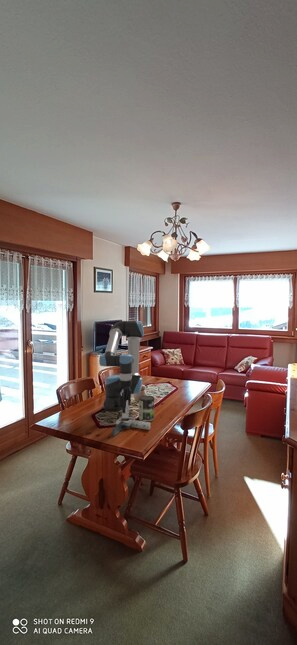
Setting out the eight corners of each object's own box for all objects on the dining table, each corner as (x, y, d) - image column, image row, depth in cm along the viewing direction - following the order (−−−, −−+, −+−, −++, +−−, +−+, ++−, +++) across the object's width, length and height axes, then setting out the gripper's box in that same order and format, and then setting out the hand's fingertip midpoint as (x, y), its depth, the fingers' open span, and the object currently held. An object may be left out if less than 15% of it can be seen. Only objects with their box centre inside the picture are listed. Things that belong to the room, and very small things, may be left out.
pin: (122, 426, 191) (122, 400, 190) (124, 424, 194) (124, 399, 193) (126, 426, 190) (126, 401, 189) (128, 425, 193) (129, 400, 192)
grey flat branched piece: (107, 434, 179) (107, 428, 178) (122, 422, 198) (122, 415, 198) (139, 440, 172) (140, 433, 171) (152, 426, 191) (152, 420, 191)
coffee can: (157, 417, 206) (157, 396, 205) (148, 422, 198) (149, 401, 197) (144, 414, 212) (144, 394, 211) (135, 419, 203) (135, 398, 202)
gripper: (125, 383, 182) (125, 422, 183) (136, 377, 197) (136, 413, 198) (114, 382, 184) (114, 420, 186) (125, 376, 199) (125, 411, 201)
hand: (125, 416), depth 192 cm, fingers closed on pin, 3 cm apart
